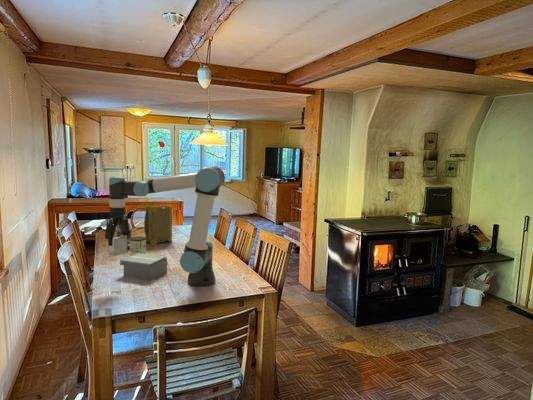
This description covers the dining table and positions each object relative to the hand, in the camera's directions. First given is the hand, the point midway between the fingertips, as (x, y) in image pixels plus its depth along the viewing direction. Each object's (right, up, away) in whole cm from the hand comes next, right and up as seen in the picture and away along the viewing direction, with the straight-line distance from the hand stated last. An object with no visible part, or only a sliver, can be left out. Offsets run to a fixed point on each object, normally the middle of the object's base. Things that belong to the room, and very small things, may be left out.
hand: (118, 249), depth 187 cm
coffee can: (-8, -14, +52) cm, 55 cm away
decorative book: (-9, -8, +99) cm, 100 cm away
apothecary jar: (-28, -10, +78) cm, 83 cm away
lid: (+6, -11, +21) cm, 25 cm away
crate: (+7, -17, +21) cm, 29 cm away
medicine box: (0, -3, 0) cm, 3 cm away
